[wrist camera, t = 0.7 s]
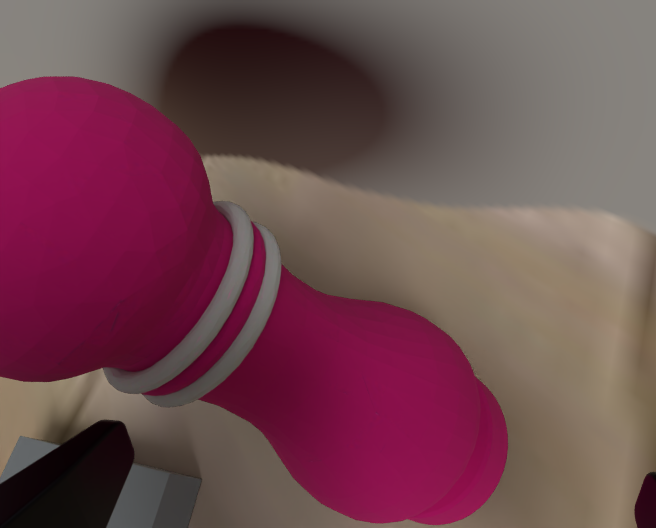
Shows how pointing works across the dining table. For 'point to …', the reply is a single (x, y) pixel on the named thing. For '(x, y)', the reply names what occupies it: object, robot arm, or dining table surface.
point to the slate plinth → (128, 490)
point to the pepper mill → (221, 313)
